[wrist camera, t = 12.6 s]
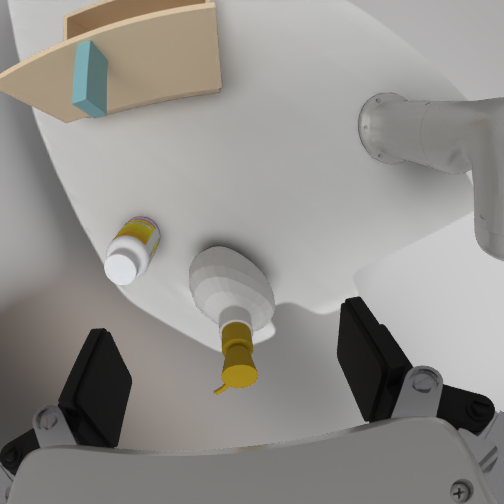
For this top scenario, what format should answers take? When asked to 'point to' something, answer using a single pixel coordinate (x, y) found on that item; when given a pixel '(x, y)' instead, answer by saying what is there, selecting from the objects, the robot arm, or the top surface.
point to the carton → (117, 9)
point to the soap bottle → (232, 307)
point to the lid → (121, 64)
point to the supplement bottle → (131, 251)
